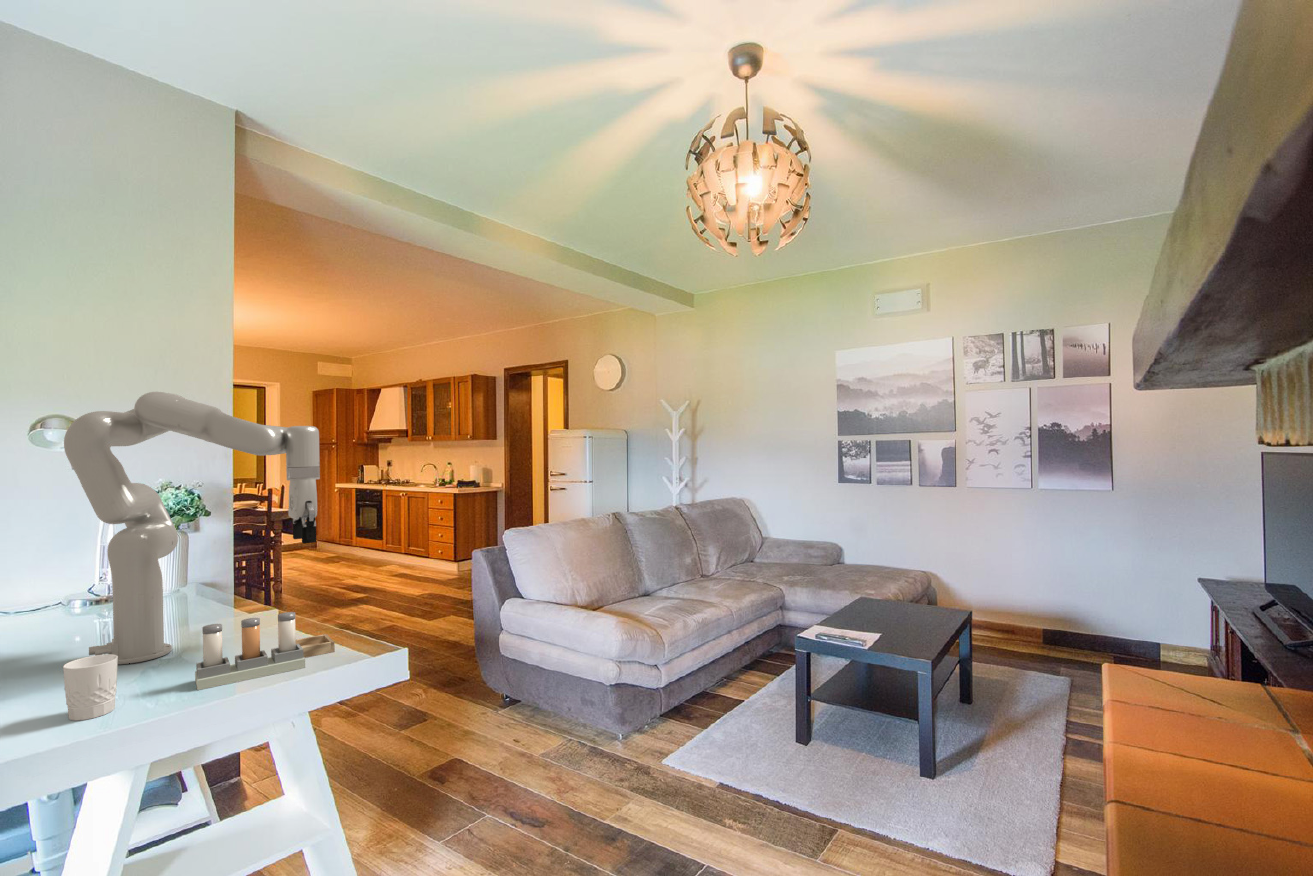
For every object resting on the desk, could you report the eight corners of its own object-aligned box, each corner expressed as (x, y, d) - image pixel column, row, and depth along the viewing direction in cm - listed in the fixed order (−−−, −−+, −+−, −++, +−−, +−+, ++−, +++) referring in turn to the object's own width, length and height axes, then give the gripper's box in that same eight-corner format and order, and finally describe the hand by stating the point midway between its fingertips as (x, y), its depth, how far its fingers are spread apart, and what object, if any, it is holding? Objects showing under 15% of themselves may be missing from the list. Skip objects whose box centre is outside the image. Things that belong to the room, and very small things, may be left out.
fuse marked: (243, 669, 141) (242, 623, 141) (241, 664, 144) (240, 619, 144) (261, 665, 143) (260, 620, 143) (259, 661, 146) (258, 616, 146)
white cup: (128, 707, 126) (127, 656, 126) (81, 724, 119) (80, 670, 119) (101, 703, 129) (100, 652, 129) (53, 719, 121) (52, 666, 121)
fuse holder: (197, 690, 134) (197, 671, 134) (195, 680, 140) (194, 662, 140) (305, 667, 147) (304, 650, 147) (299, 659, 152) (299, 642, 152)
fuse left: (203, 676, 137) (203, 629, 137) (202, 672, 139) (201, 626, 139) (223, 672, 139) (222, 626, 139) (222, 668, 141) (221, 622, 141)
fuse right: (279, 661, 145) (279, 617, 145) (277, 657, 148) (276, 614, 148) (297, 658, 147) (296, 614, 147) (294, 654, 150) (293, 611, 150)
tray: (295, 659, 152) (295, 649, 152) (288, 650, 159) (288, 641, 159) (334, 651, 158) (334, 641, 158) (326, 643, 164) (326, 634, 164)
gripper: (279, 473, 170) (280, 538, 170) (294, 475, 157) (295, 546, 157) (311, 472, 175) (312, 535, 175) (328, 474, 162) (329, 542, 162)
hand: (304, 540), depth 166 cm, fingers open, 9 cm apart
